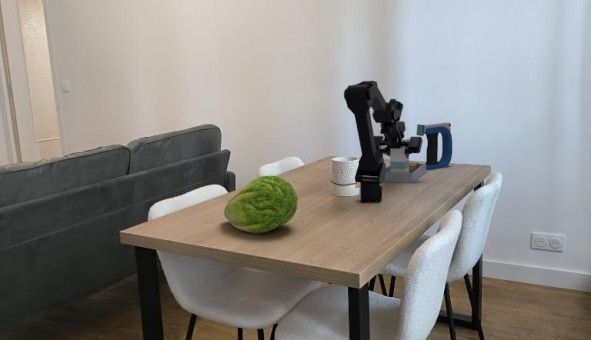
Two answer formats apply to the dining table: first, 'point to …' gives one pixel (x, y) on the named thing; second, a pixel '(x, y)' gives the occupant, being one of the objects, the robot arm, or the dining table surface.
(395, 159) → the carton
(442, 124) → the handheld scanner
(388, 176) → the tote
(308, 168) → the dining table surface
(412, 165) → the walnut block
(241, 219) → the lettuce
